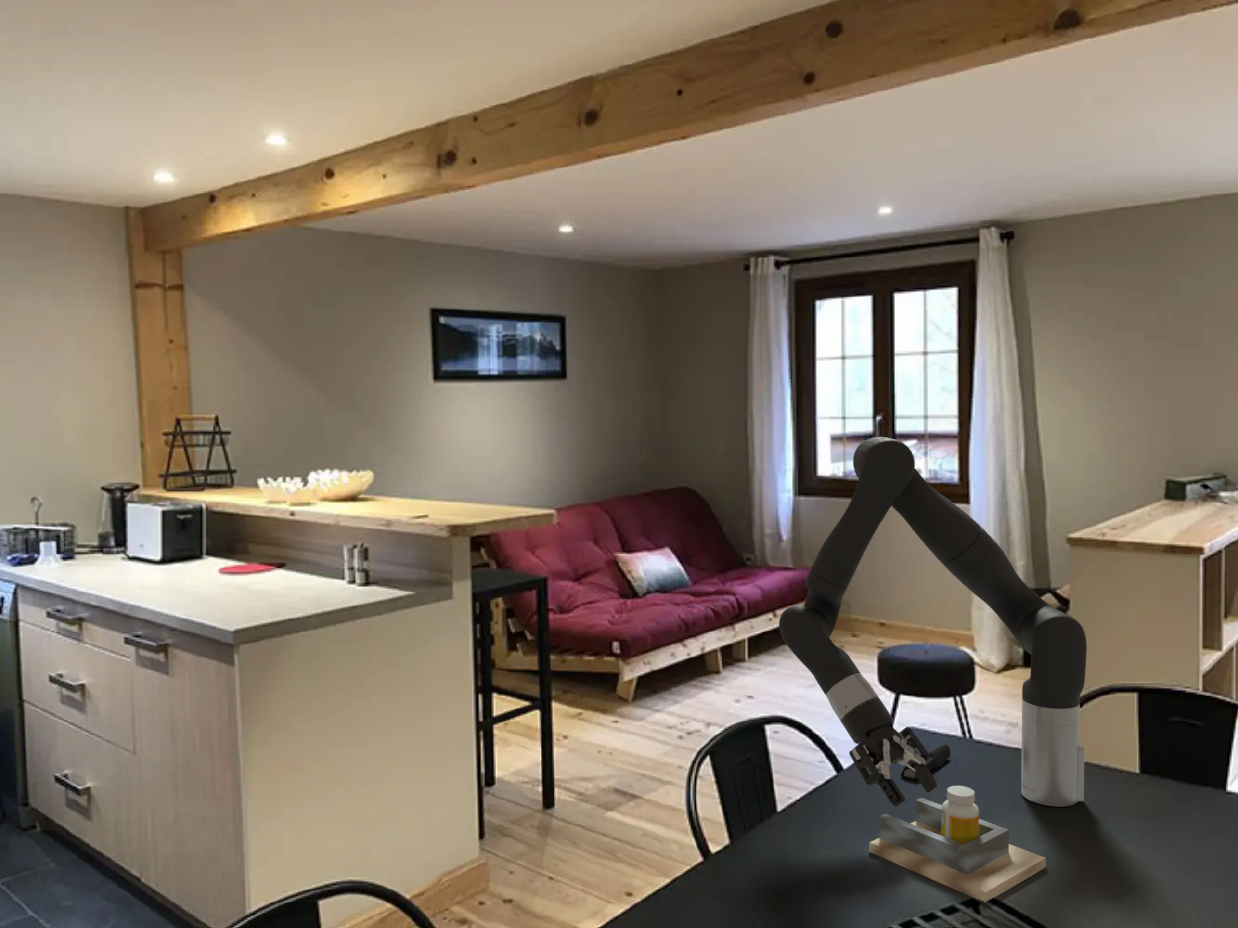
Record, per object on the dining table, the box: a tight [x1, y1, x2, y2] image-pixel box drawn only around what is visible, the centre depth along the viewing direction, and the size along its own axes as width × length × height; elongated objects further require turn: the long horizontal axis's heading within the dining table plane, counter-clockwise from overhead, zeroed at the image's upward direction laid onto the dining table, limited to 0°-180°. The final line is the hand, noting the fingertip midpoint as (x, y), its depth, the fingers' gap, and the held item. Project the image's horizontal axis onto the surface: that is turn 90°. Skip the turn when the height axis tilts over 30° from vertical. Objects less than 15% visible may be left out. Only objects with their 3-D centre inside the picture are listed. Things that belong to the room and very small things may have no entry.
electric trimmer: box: [900, 744, 951, 783], centre depth 186 cm, size 4×16×3 cm, turn 136°
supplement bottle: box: [941, 785, 980, 844], centre depth 148 cm, size 5×5×10 cm
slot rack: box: [868, 797, 1047, 903], centre depth 149 cm, size 20×16×5 cm
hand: (917, 796), depth 154 cm, fingers open, 8 cm apart
